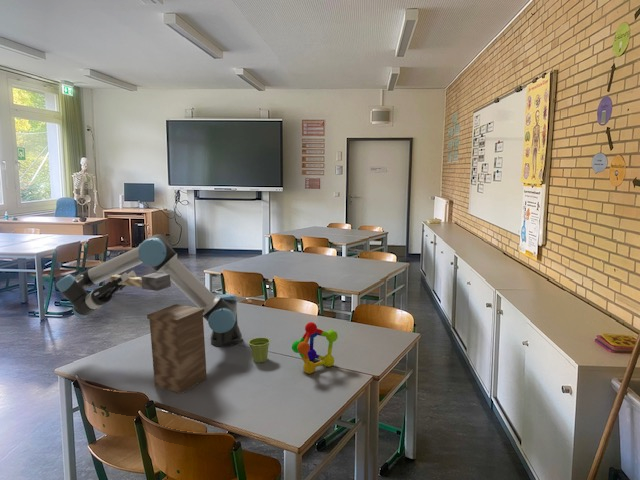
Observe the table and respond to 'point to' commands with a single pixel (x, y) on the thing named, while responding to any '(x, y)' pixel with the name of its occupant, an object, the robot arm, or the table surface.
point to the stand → (178, 347)
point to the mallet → (147, 281)
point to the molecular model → (308, 351)
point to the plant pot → (259, 349)
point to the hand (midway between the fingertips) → (130, 274)
